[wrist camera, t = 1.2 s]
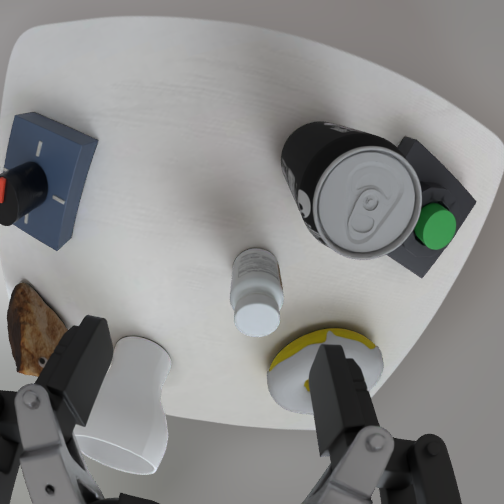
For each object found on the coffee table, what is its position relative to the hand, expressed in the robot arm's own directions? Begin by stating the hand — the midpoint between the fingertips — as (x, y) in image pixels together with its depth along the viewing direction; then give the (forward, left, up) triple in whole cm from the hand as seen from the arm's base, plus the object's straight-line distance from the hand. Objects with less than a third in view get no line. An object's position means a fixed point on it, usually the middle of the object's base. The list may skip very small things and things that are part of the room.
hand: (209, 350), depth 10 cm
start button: (+15, +8, -13) cm, 22 cm away
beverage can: (+4, +7, -17) cm, 19 cm away
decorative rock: (-15, -25, -17) cm, 34 cm away
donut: (+19, -13, -17) cm, 29 cm away
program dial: (-18, -6, -14) cm, 24 cm away
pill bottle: (+5, -5, -17) cm, 19 cm away
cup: (-1, -24, -17) cm, 29 cm away
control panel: (-18, -6, -17) cm, 25 cm away
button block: (+15, +8, -17) cm, 24 cm away
